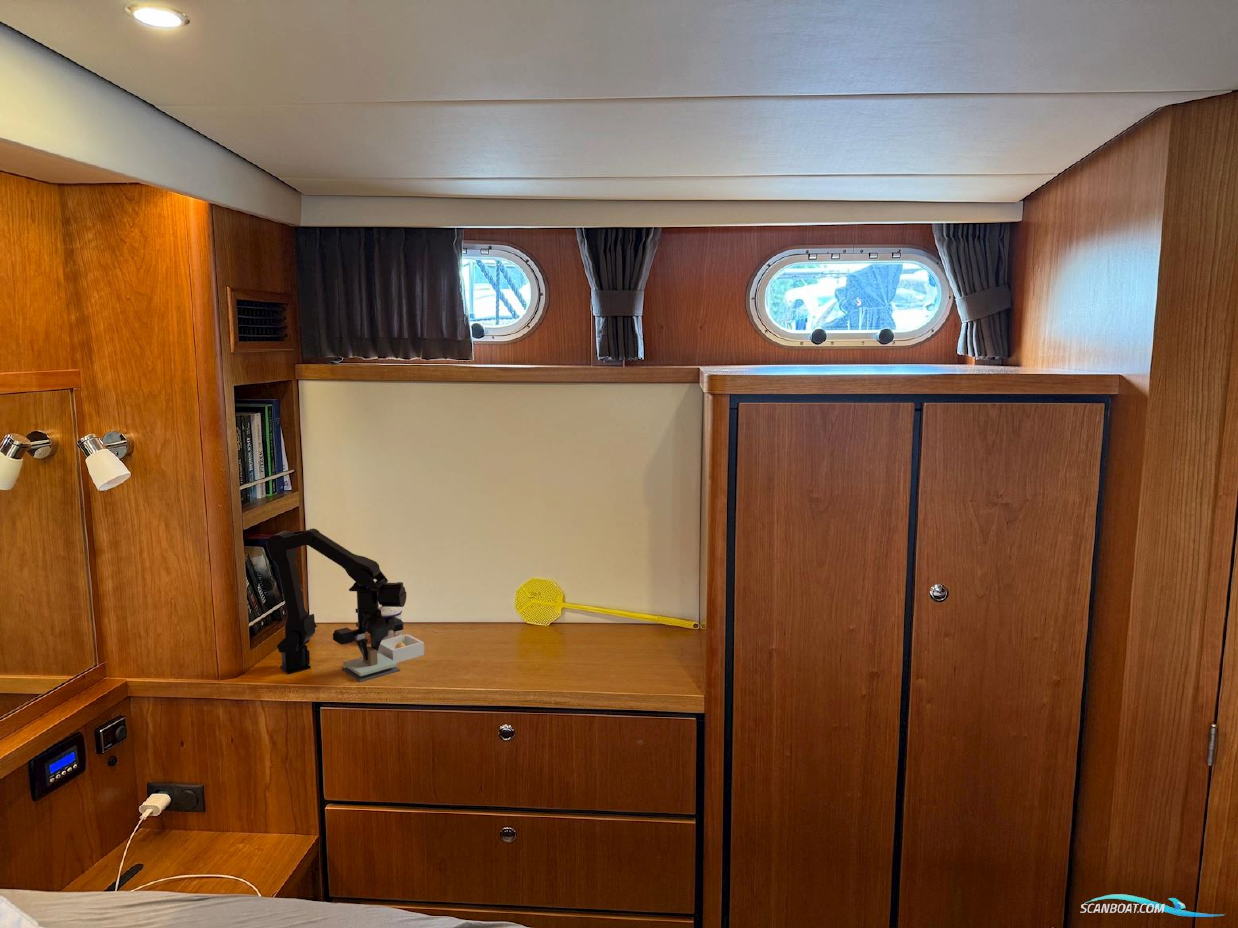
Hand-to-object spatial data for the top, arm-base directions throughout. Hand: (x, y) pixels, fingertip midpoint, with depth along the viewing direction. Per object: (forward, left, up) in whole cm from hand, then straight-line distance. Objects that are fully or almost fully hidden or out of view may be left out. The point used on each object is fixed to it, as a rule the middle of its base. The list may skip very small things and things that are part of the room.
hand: (369, 659), depth 222 cm
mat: (0, 0, -3) cm, 3 cm away
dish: (+12, +5, -3) cm, 13 cm away
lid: (0, 0, -2) cm, 2 cm away
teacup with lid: (+17, +22, -4) cm, 28 cm away
